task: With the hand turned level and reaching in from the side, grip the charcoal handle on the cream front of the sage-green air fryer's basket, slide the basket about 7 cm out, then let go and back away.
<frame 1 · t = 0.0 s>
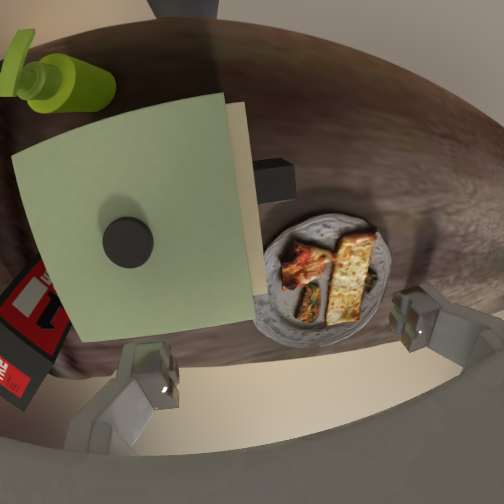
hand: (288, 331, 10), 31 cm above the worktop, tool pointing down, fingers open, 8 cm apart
cleaning product box: (59, 283, 41), on the worktop
air fryer: (169, 173, 36), on the worktop
food plate: (321, 281, 48), on the worktop
soap dispenser: (97, 86, 30), on the worktop
basket: (193, 187, 27), point 11 cm above the worktop, slide at 0.0 cm
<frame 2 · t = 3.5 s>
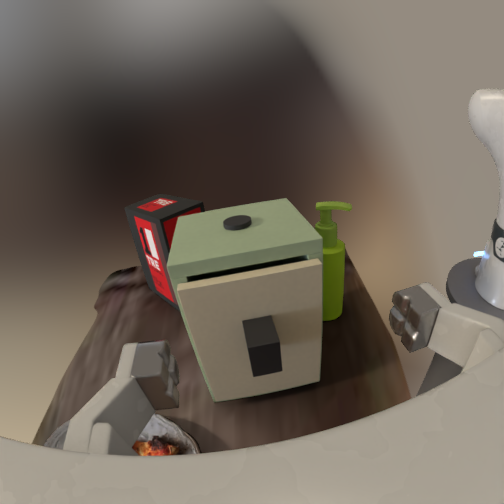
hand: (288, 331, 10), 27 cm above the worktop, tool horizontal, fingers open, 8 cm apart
cleaning product box: (183, 292, 63), on the worktop
air fryer: (259, 358, 43), on the worktop
food plate: (118, 486, 24), on the worktop
soap dispenser: (328, 311, 51), on the worktop
basket: (254, 320, 35), point 11 cm above the worktop, slide at 0.0 cm
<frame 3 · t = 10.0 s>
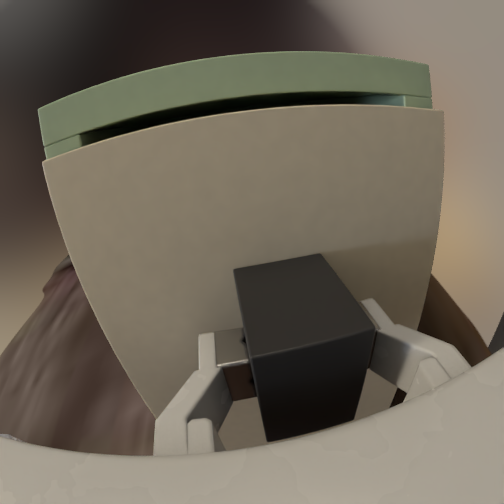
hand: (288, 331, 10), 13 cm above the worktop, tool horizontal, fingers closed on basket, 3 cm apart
air fryer: (269, 370, 24), on the worktop
basket: (264, 289, 16), point 11 cm above the worktop, slide at 0.0 cm, touching gripper
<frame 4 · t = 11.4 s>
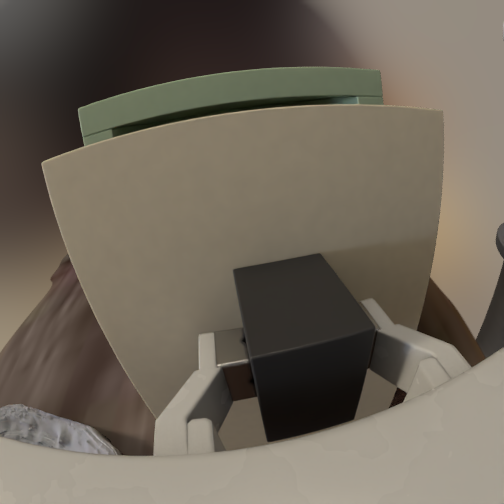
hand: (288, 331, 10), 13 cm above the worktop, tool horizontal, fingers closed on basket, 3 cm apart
air fryer: (261, 340, 27), on the worktop
basket: (264, 289, 16), point 11 cm above the worktop, slide at 3.9 cm, touching gripper
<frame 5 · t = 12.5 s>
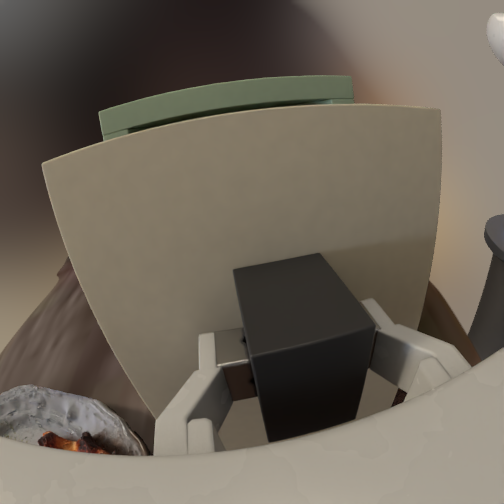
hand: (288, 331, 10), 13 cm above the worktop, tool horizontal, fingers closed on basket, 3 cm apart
air fryer: (256, 322, 30), on the worktop
food plate: (35, 503, 11), on the worktop
basket: (264, 290, 16), point 11 cm above the worktop, slide at 7.0 cm, touching gripper
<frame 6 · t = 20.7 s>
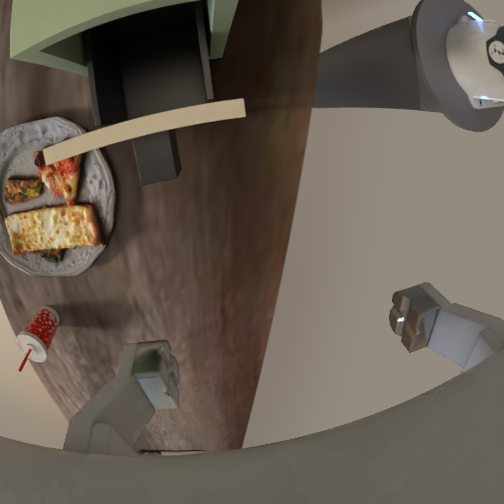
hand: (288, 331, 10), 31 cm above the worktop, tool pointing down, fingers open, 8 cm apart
air fryer: (157, 22, 27), on the worktop
chef's knife: (171, 452, 67), on the worktop
food plate: (45, 198, 35), on the worktop
basket: (151, 83, 22), point 11 cm above the worktop, slide at 6.9 cm
beverage cup: (49, 315, 43), on the worktop
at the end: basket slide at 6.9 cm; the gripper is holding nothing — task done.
